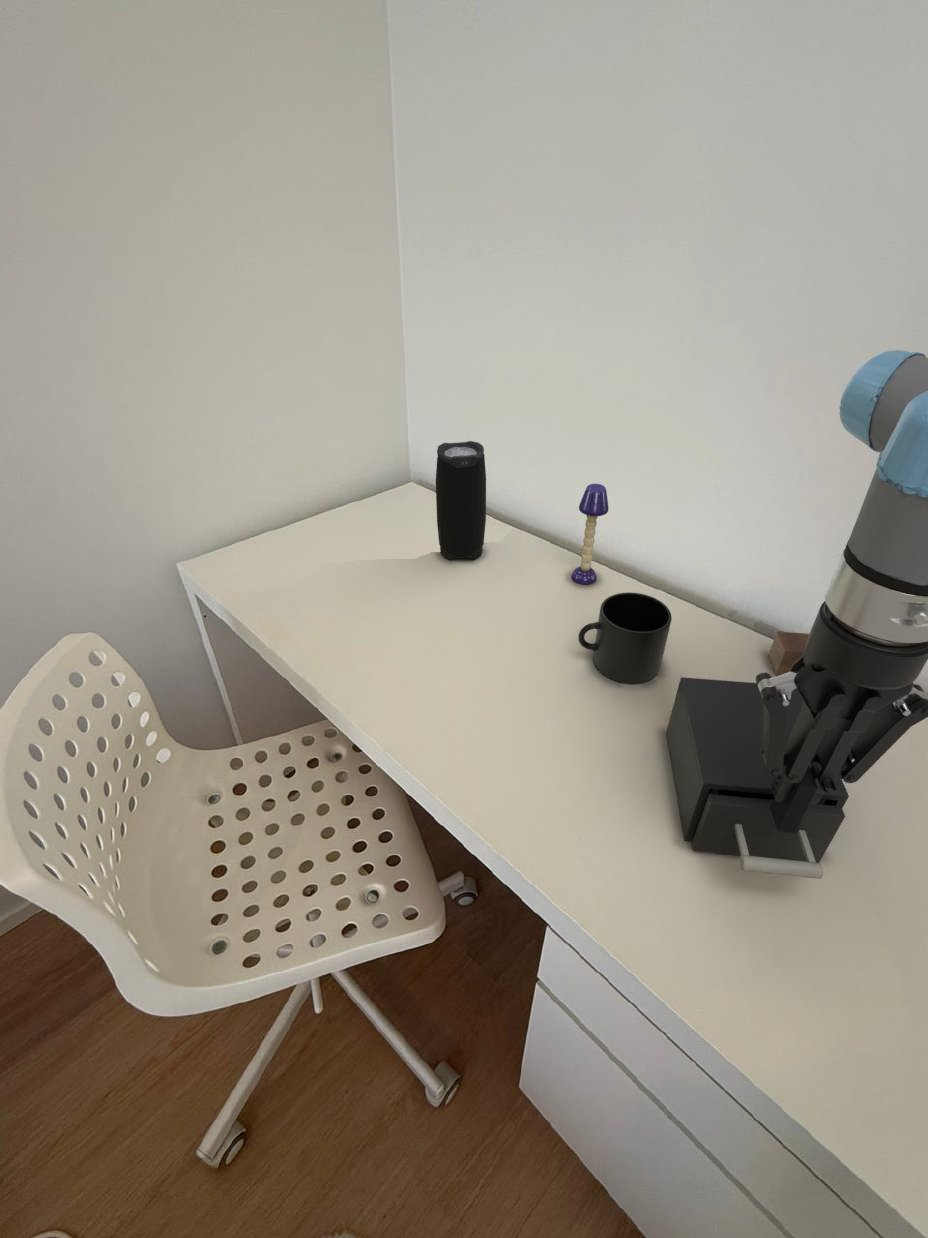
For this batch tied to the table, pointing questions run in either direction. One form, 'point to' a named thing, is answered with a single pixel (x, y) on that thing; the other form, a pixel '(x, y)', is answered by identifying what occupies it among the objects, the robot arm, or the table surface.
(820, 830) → the drawer
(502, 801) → the table surface
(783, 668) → the block
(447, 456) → the portable speaker
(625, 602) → the mug
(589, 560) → the toy lamp
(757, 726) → the cabinet
